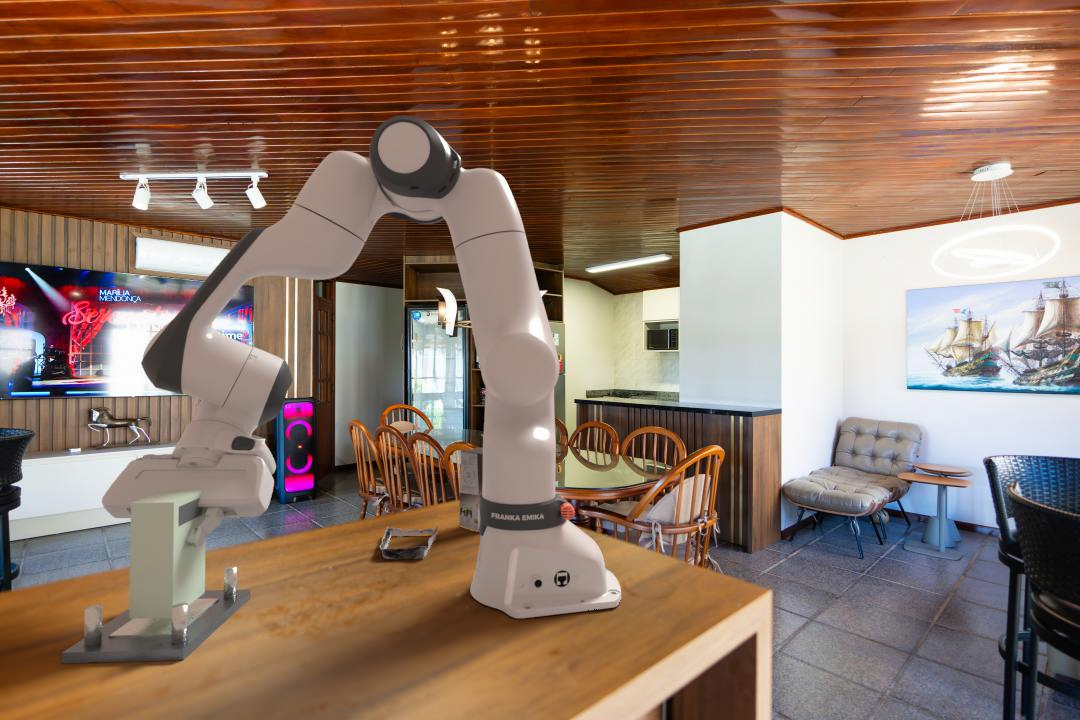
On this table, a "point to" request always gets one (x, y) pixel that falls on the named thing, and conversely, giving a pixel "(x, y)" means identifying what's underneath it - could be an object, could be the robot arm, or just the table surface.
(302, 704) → the table surface
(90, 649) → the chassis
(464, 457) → the coffee box
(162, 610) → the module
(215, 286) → the robot arm
